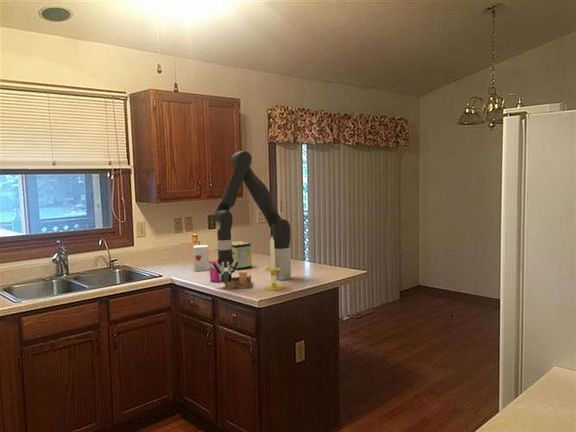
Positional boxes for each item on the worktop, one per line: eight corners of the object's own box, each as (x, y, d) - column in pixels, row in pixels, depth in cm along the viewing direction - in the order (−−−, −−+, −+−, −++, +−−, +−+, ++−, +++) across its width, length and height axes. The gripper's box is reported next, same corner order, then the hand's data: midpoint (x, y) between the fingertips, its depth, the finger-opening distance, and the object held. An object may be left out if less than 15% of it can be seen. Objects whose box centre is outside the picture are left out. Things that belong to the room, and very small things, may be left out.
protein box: (240, 264, 321) (239, 240, 320) (252, 268, 308) (251, 243, 307) (225, 267, 315) (224, 242, 314) (237, 270, 302) (236, 245, 301)
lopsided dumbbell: (247, 281, 264) (247, 269, 263) (247, 283, 259) (246, 271, 258) (225, 282, 263) (224, 271, 263) (224, 284, 258) (223, 273, 258)
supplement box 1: (194, 271, 305) (193, 247, 303) (194, 268, 313) (192, 245, 312) (209, 270, 306) (208, 246, 305) (208, 267, 315) (207, 244, 314)
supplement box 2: (217, 279, 280) (216, 259, 279) (224, 280, 276) (223, 260, 275) (209, 281, 275) (208, 260, 274) (217, 282, 271) (216, 261, 270)
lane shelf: (251, 282, 267) (250, 274, 267) (250, 288, 255) (250, 279, 255) (227, 284, 267) (226, 275, 266) (225, 289, 255) (224, 280, 254)
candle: (287, 287, 253) (285, 235, 250) (271, 291, 247) (268, 237, 245) (276, 284, 261) (274, 233, 258) (260, 287, 255) (258, 235, 253)
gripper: (238, 246, 263) (240, 278, 265) (212, 247, 262) (214, 280, 264) (238, 248, 256) (239, 281, 257) (210, 250, 255) (212, 283, 257)
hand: (226, 280), depth 261 cm, fingers closed on lopsided dumbbell, 2 cm apart
